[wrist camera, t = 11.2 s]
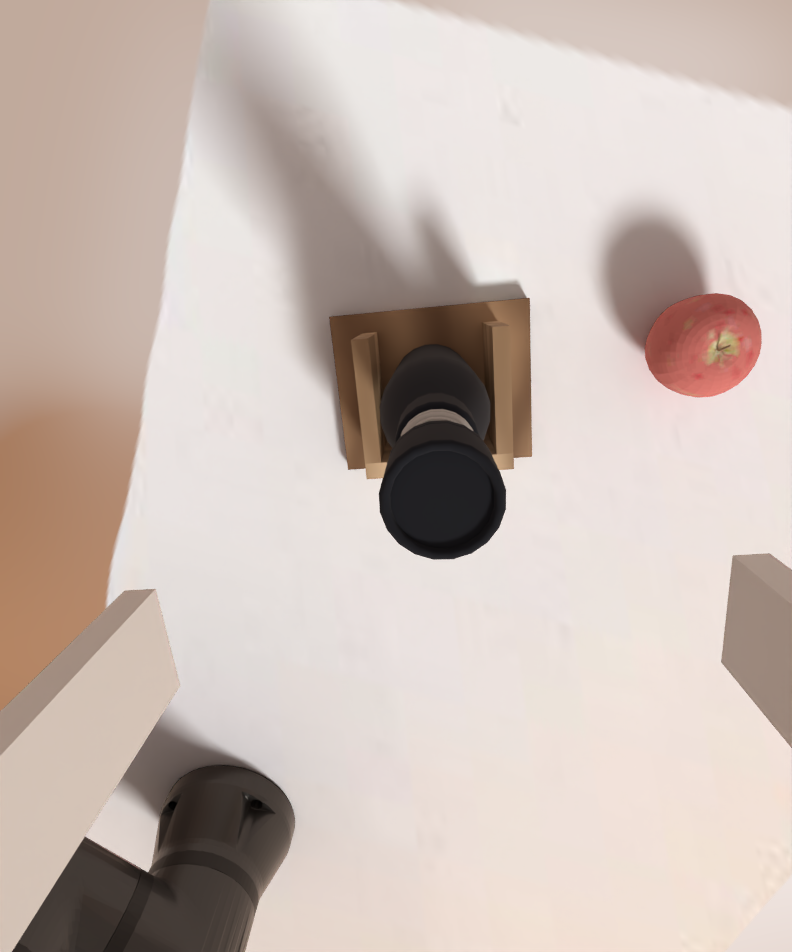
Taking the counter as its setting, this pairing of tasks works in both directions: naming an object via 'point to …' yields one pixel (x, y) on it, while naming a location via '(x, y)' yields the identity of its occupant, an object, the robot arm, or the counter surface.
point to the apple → (703, 345)
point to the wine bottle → (439, 457)
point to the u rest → (455, 326)
